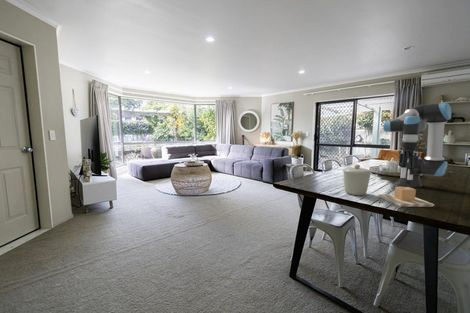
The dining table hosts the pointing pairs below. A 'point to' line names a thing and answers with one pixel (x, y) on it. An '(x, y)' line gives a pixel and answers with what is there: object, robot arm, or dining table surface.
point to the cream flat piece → (400, 203)
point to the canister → (356, 180)
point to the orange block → (405, 193)
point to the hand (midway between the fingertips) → (406, 178)
